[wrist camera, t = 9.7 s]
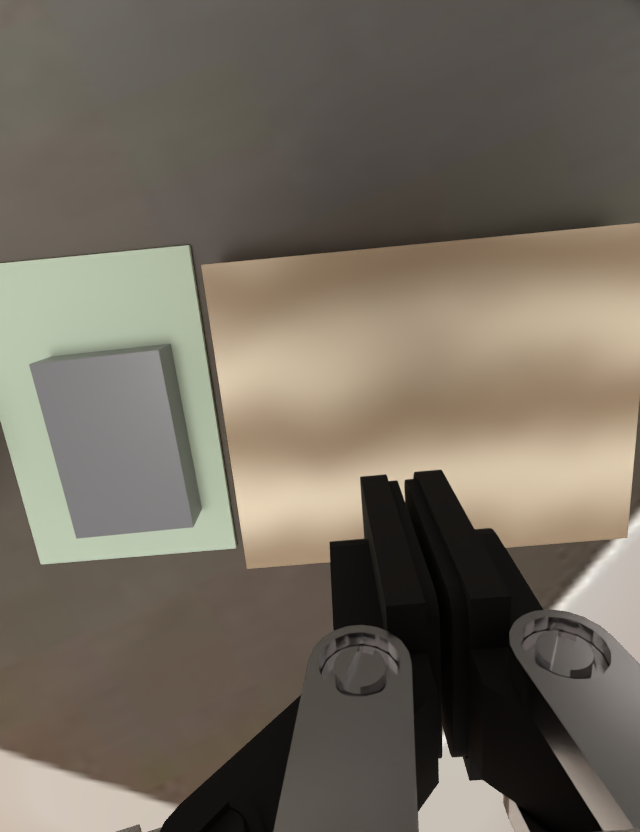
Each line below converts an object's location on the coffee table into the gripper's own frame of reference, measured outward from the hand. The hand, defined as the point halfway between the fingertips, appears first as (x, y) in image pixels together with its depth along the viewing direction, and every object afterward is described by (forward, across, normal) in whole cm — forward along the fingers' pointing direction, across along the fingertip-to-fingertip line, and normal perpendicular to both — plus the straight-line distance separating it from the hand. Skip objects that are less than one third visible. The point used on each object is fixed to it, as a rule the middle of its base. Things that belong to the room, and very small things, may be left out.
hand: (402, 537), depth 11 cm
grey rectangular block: (+13, +12, +3) cm, 18 cm away
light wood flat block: (+16, -3, +2) cm, 16 cm away
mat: (+16, +13, +2) cm, 20 cm away
